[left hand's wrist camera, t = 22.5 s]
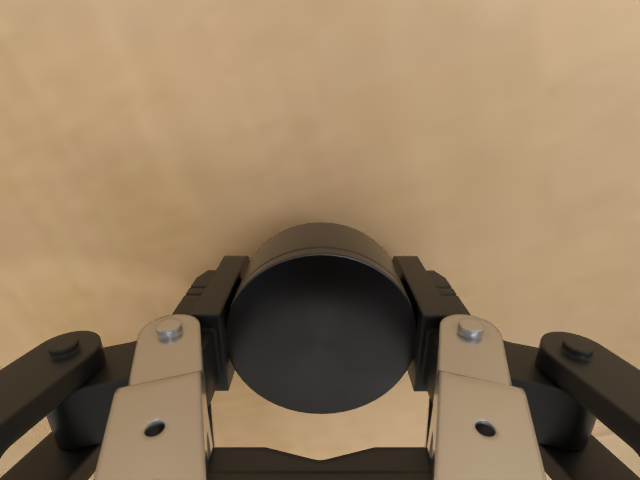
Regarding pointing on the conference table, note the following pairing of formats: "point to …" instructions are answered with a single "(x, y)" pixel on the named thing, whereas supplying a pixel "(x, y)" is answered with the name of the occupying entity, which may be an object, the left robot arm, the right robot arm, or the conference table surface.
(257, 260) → the lid
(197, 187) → the conference table surface
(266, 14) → the conference table surface
